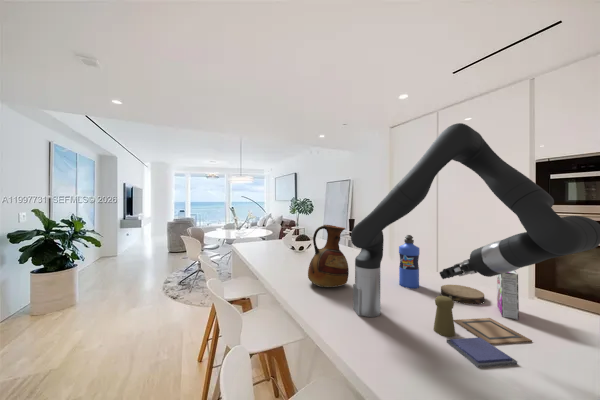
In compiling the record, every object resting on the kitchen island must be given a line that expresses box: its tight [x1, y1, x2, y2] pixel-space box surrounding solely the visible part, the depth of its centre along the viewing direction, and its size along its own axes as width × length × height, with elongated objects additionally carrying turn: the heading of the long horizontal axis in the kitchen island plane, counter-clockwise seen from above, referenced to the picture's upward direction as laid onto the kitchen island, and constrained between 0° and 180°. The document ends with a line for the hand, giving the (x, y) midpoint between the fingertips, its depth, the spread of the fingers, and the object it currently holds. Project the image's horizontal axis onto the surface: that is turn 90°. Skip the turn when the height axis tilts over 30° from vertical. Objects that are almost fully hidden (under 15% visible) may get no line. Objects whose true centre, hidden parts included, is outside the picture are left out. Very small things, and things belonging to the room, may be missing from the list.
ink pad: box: [446, 337, 518, 368], centre depth 66 cm, size 11×11×1 cm
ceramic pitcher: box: [307, 223, 350, 288], centre depth 121 cm, size 20×20×30 cm
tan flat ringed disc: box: [440, 284, 485, 305], centre depth 106 cm, size 16×16×3 cm
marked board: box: [453, 317, 533, 346], centre depth 78 cm, size 14×14×1 cm
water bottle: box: [398, 234, 420, 290], centre depth 120 cm, size 9×9×25 cm
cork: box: [433, 295, 456, 338], centre depth 77 cm, size 6×6×11 cm
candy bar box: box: [496, 270, 520, 321], centre depth 91 cm, size 11×5×16 cm, turn 148°
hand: (452, 272), depth 76 cm, fingers open, 8 cm apart
